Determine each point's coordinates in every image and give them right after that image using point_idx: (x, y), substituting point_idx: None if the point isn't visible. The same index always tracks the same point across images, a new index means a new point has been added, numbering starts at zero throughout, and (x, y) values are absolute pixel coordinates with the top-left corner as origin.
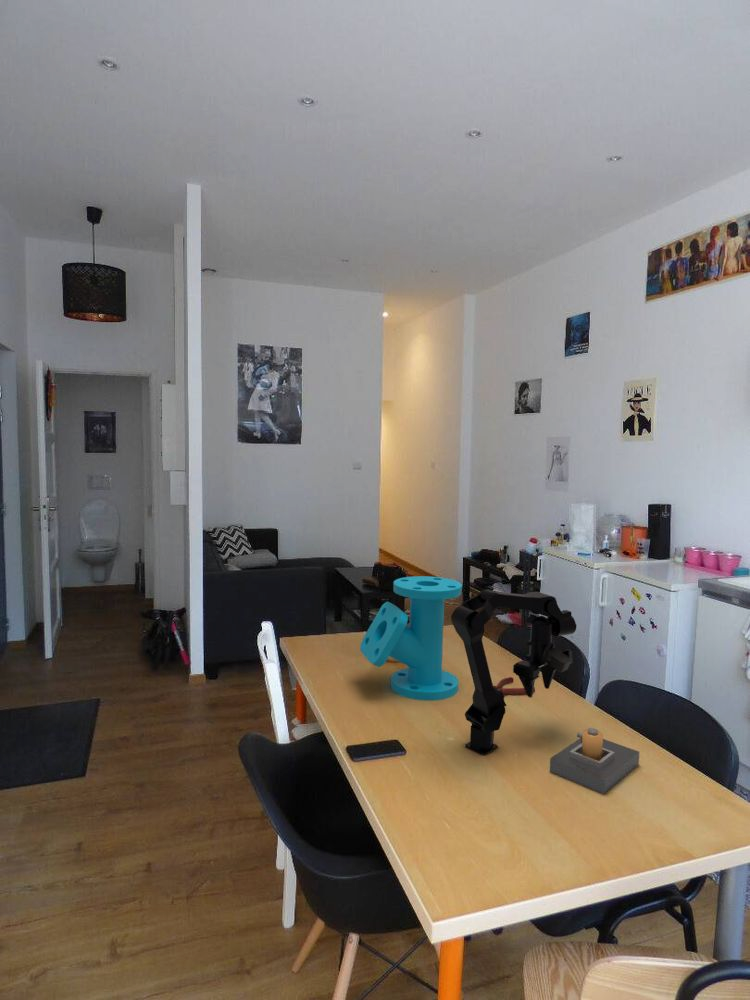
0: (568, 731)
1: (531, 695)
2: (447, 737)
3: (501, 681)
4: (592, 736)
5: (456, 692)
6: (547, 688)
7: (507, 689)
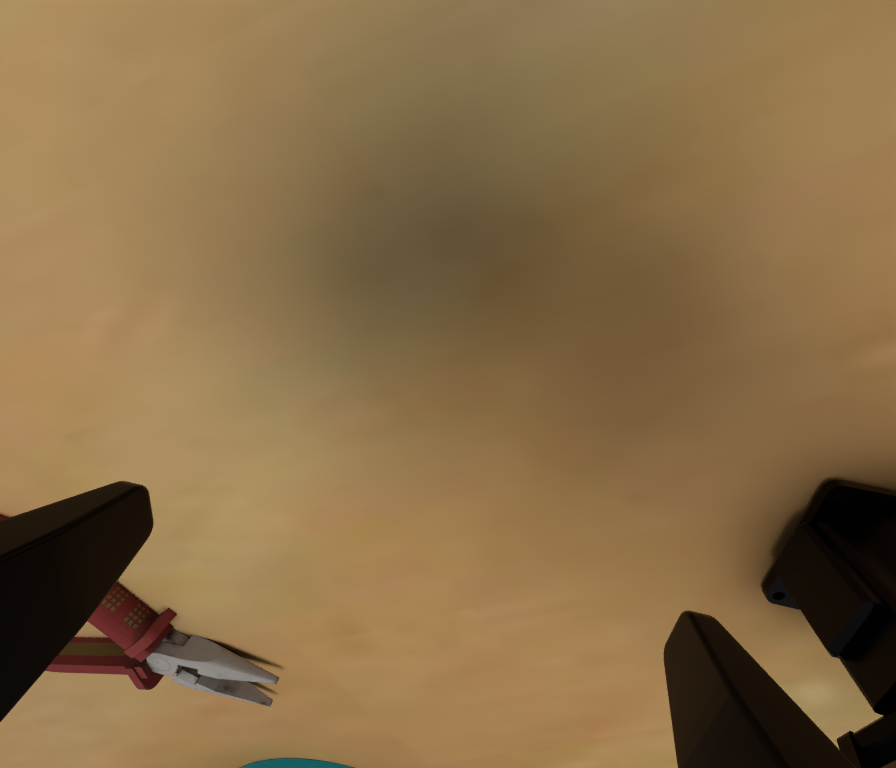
0: (278, 164)
1: (746, 653)
2: (809, 706)
3: (63, 668)
4: None
5: (302, 762)
6: (143, 496)
7: (113, 629)
